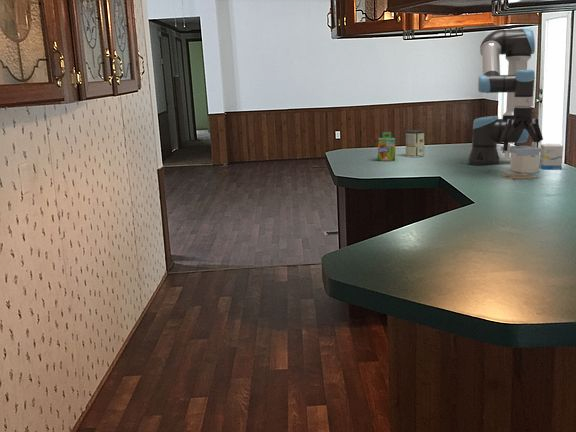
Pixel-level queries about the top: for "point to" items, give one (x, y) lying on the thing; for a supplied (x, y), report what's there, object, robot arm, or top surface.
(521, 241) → the top surface
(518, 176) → the mat
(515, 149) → the lid
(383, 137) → the chalk box
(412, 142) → the cream miniature cabinet
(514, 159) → the crate
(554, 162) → the ink box
